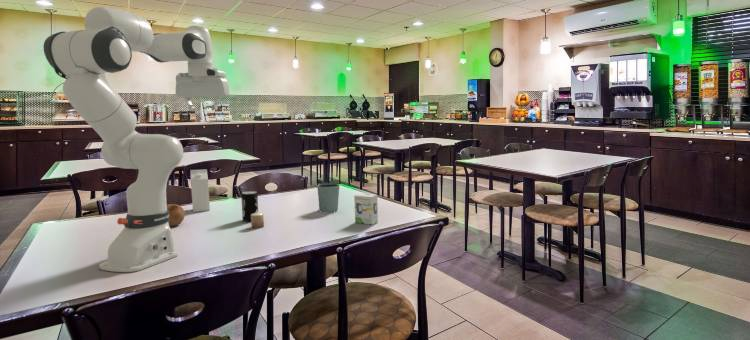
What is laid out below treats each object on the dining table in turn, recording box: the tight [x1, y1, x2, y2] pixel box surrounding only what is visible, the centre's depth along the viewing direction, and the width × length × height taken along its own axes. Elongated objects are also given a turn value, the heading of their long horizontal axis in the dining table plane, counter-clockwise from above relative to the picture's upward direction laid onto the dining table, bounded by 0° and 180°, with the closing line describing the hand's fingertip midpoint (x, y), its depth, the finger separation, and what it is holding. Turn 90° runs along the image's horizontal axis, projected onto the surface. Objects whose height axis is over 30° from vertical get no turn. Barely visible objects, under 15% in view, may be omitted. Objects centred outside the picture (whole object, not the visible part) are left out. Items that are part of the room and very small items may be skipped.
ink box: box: [353, 192, 379, 226], centre depth 174 cm, size 9×5×12 cm, turn 62°
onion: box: [167, 203, 186, 227], centre depth 172 cm, size 10×9×10 cm
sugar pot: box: [250, 212, 265, 230], centre depth 169 cm, size 5×5×5 cm
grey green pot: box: [316, 183, 340, 213], centre depth 196 cm, size 10×10×12 cm
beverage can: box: [241, 190, 259, 223], centre depth 179 cm, size 7×7×12 cm
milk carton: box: [190, 168, 211, 213], centre depth 197 cm, size 7×7×19 cm
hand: (203, 109), depth 161 cm, fingers open, 8 cm apart
